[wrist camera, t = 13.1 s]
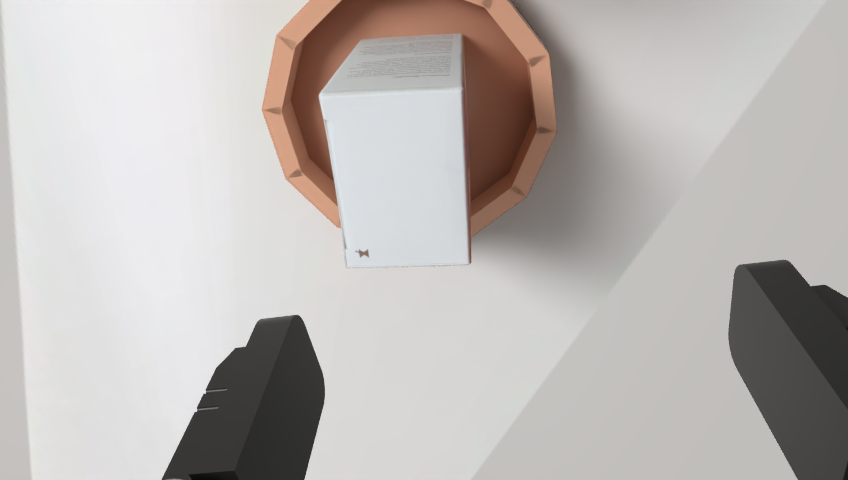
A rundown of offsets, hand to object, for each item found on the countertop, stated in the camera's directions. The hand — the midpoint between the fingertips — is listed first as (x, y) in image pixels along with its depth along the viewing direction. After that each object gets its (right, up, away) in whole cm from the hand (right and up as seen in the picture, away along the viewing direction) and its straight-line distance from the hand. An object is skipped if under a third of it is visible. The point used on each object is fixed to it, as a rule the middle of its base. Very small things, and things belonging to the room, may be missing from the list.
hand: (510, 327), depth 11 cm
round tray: (-2, +9, +22) cm, 24 cm away
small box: (-2, +9, +22) cm, 24 cm away
